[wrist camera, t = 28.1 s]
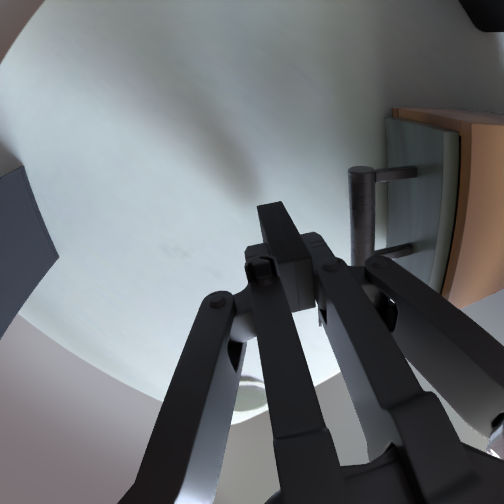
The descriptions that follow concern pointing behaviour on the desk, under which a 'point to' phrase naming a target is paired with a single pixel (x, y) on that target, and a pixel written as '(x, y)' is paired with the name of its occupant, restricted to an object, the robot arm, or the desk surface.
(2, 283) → the caddy
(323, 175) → the desk surface
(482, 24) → the electronic device
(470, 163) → the cabinet
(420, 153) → the drawer
